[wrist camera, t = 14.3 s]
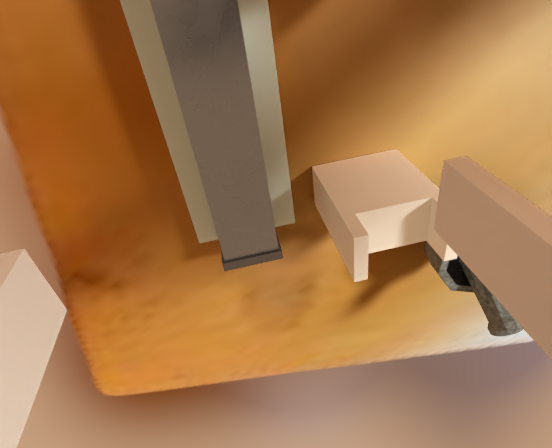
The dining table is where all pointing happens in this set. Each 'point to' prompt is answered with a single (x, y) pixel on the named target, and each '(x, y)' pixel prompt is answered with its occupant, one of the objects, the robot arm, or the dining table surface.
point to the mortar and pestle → (466, 280)
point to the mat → (173, 123)
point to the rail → (221, 123)
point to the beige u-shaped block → (376, 207)
